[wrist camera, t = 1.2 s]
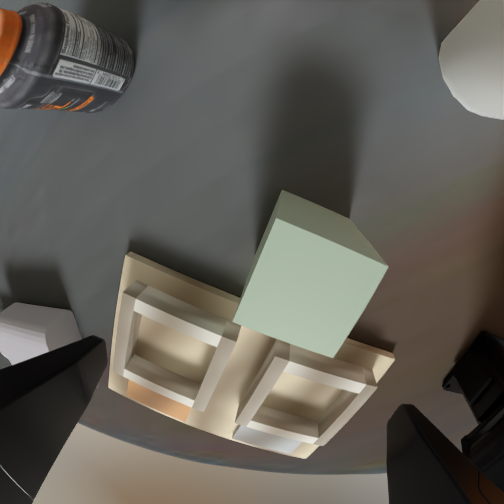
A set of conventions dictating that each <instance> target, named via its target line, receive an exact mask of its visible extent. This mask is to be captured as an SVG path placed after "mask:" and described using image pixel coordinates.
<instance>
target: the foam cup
mask: <svg viewBox="0 0 504 504" xmlns="http://www.w3.org/2000/svg"><path fill="white" fill-rule="evenodd" d="M438 59H439V63H440V68H441V72H442V77H443V79H444V81H445V82H446V84H447V86H448V88H449V89H450V91H451V93H452V95H453V97H455V98H456V99H457V100H458V101H459V102H460V103H461V104H462V105H463V106H464V107H465V108H466V109H467V110H468V111H471V112H473V113H476V114H478V115H481V116H486V117H489V118H496V119H502V120H504V0H479V1H478V2H477V4H476V5H475V6H474V7H473V8H472V9H471V10H470V11H469V12H468V14H467V15H466V16H465V17H464V18H463V19H462V20H461V21H460V22H459V23H458V25H457V26H456V27H455V28H454V29H453V30H452V31H451V32H450V33H449V34H448V36H447V37H446V38H445V39H444V41H443V42H442V43H441V47H440V52H439V57H438Z"/></svg>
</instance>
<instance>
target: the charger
mask: <svg viewBox="0 0 504 504" xmlns="http://www.w3.org/2000/svg"><path fill="white" fill-rule="evenodd" d="M81 339H82V337H81V335H80V332H79V329H78V326H77V323H76V320H75V318H74V315H73V312H72V311H70V310H65V309H58V308H51V307H44V306H37V305H31V304H24V303H18V302H15V303H13V304H12V305H10V306H9V307H8V308H6V309H5V310H3V311H2V312H1V313H0V352H1V354H3V355H4V356H5V357H6V358H8V359H9V360H10V362H11V364H12V365H14V364H17V363H20V362H22V361H25V360H28V359H30V358H33V357H36V356H39V355H41V354H44V353H47V352H49V351H52V350H55V349H57V348H60V347H63V346H65V345H68V344H70V343H73V342H76V341H78V340H81ZM98 387H99V383H98V385H97V387H96V389H95V391H96V390H97V389H98ZM95 391H94V393H95Z"/></svg>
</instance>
